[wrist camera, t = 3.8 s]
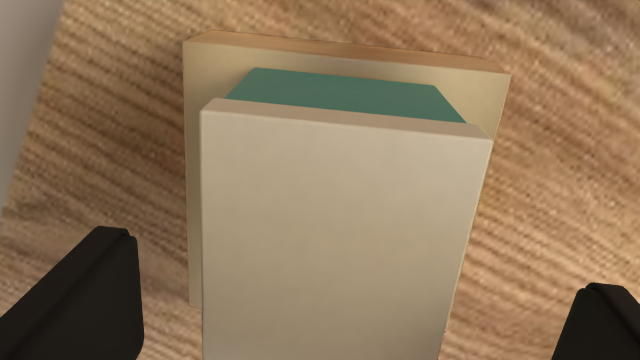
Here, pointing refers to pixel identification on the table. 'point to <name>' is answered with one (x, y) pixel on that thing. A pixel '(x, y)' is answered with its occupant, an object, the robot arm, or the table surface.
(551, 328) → the table surface
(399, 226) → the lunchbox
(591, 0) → the table surface
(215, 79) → the square wooden board
